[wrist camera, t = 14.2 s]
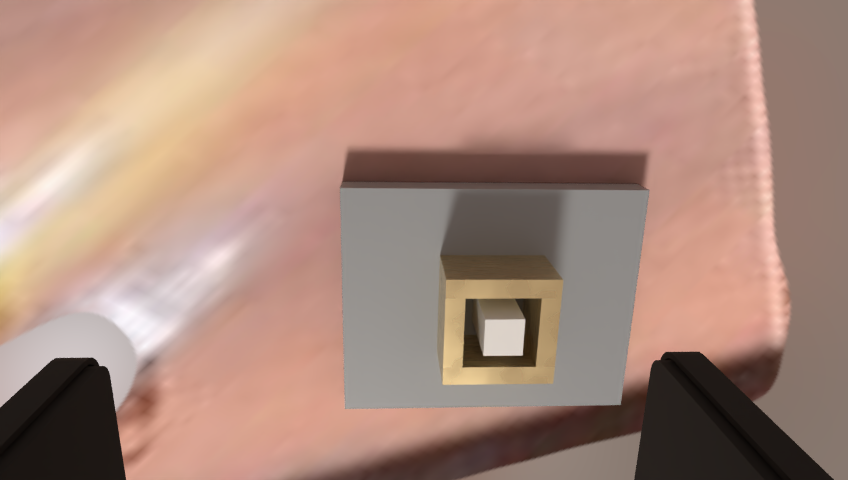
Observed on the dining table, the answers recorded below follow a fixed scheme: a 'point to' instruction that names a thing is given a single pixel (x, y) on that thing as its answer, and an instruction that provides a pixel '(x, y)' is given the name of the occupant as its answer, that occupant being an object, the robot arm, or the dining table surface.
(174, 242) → the dining table surface
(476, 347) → the collar
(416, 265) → the post stand
